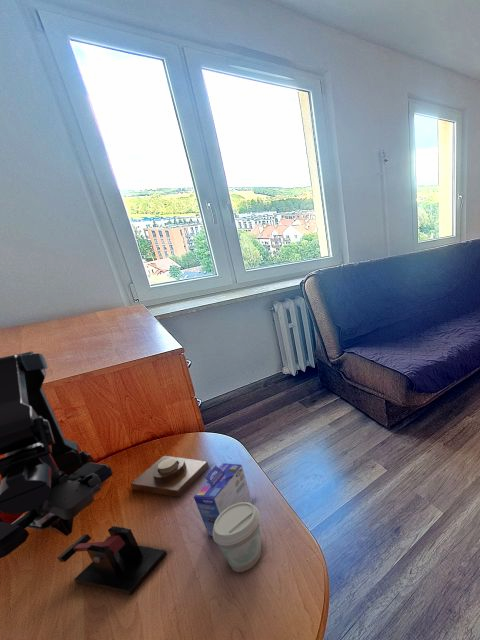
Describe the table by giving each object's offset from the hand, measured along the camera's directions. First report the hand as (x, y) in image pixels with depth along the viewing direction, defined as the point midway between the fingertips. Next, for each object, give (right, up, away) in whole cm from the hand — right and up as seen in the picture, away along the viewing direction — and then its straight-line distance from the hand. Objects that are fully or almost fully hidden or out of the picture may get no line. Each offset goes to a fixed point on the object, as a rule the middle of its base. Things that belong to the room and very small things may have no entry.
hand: (67, 534), depth 68 cm
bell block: (+4, 0, +23) cm, 24 cm away
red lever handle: (+6, -4, +1) cm, 7 cm away
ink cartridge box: (+26, -4, +12) cm, 29 cm away
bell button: (+4, +4, +22) cm, 23 cm away
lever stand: (+10, -8, +1) cm, 13 cm away
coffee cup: (+35, -8, +4) cm, 36 cm away
